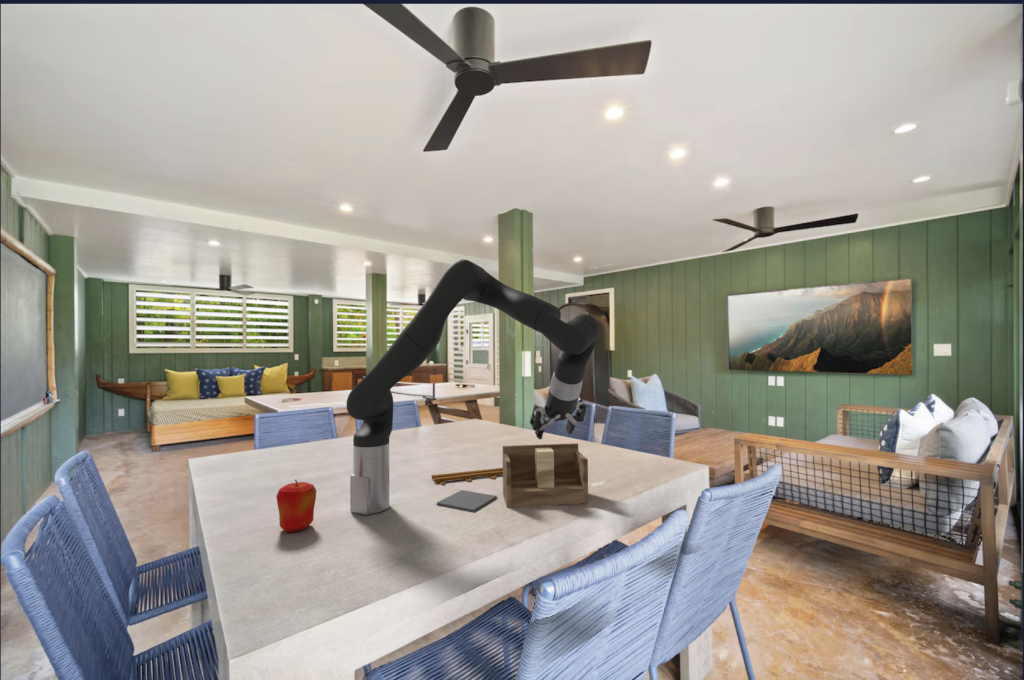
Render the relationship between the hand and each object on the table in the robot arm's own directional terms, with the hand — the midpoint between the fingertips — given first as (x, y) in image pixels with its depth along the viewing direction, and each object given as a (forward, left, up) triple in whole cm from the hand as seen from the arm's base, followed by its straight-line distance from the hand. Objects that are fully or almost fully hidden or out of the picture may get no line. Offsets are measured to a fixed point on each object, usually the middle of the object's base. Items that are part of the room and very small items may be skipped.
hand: (553, 434), depth 117 cm
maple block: (+5, +5, -16) cm, 17 cm away
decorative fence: (+15, +36, -20) cm, 44 cm away
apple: (-39, +50, -20) cm, 67 cm away
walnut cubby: (+7, +6, -20) cm, 22 cm away
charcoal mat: (-5, +24, -20) cm, 31 cm away
